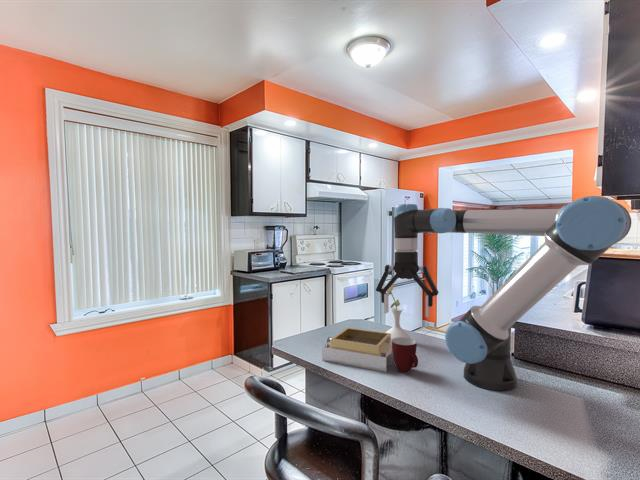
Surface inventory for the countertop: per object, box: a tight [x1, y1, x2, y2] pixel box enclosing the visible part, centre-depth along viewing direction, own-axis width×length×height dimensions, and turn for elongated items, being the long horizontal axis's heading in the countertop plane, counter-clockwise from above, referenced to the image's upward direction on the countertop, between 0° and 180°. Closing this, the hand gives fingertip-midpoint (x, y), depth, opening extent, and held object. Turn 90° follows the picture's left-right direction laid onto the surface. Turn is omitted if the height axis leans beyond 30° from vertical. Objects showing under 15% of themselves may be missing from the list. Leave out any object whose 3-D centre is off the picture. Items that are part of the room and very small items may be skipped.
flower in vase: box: [385, 284, 411, 340], centre depth 145 cm, size 13×11×25 cm
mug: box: [392, 338, 419, 374], centre depth 115 cm, size 11×8×10 cm
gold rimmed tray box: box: [321, 327, 394, 373], centre depth 129 cm, size 28×18×8 cm, turn 63°
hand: (406, 314), depth 114 cm, fingers open, 13 cm apart
